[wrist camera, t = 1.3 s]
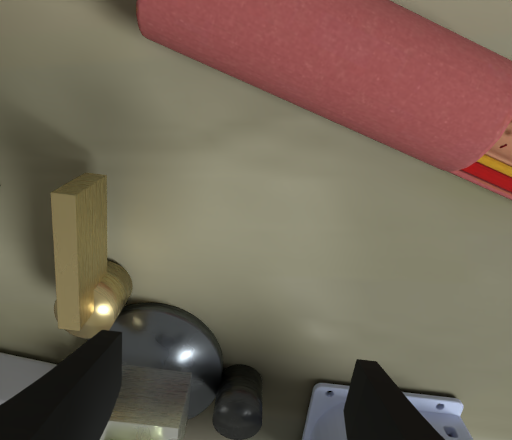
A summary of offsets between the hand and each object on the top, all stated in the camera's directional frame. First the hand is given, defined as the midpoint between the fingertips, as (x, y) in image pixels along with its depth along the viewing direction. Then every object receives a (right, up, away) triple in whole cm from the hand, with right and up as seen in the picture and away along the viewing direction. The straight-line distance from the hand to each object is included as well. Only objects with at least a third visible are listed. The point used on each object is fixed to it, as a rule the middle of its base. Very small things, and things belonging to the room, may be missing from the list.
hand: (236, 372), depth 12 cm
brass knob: (-8, +3, +10) cm, 13 cm away
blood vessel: (+16, +8, +9) cm, 20 cm away
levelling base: (-7, -1, +12) cm, 14 cm away
